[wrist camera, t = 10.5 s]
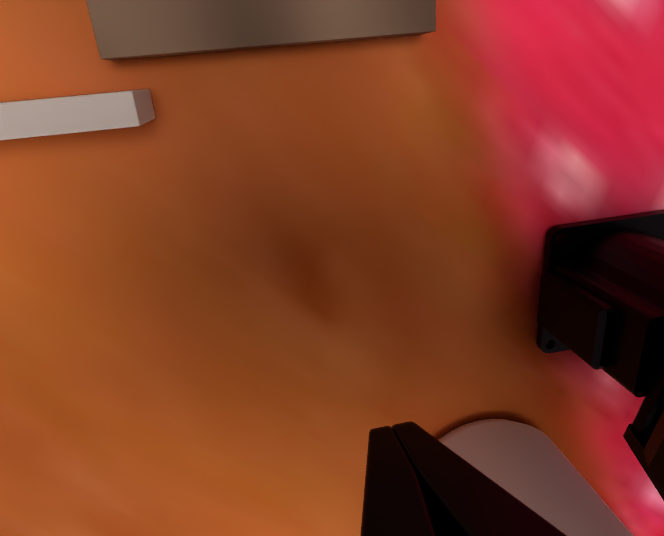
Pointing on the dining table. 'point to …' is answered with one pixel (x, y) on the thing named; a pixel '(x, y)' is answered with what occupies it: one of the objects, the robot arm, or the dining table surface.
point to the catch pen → (75, 114)
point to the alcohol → (535, 475)
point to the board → (247, 24)
